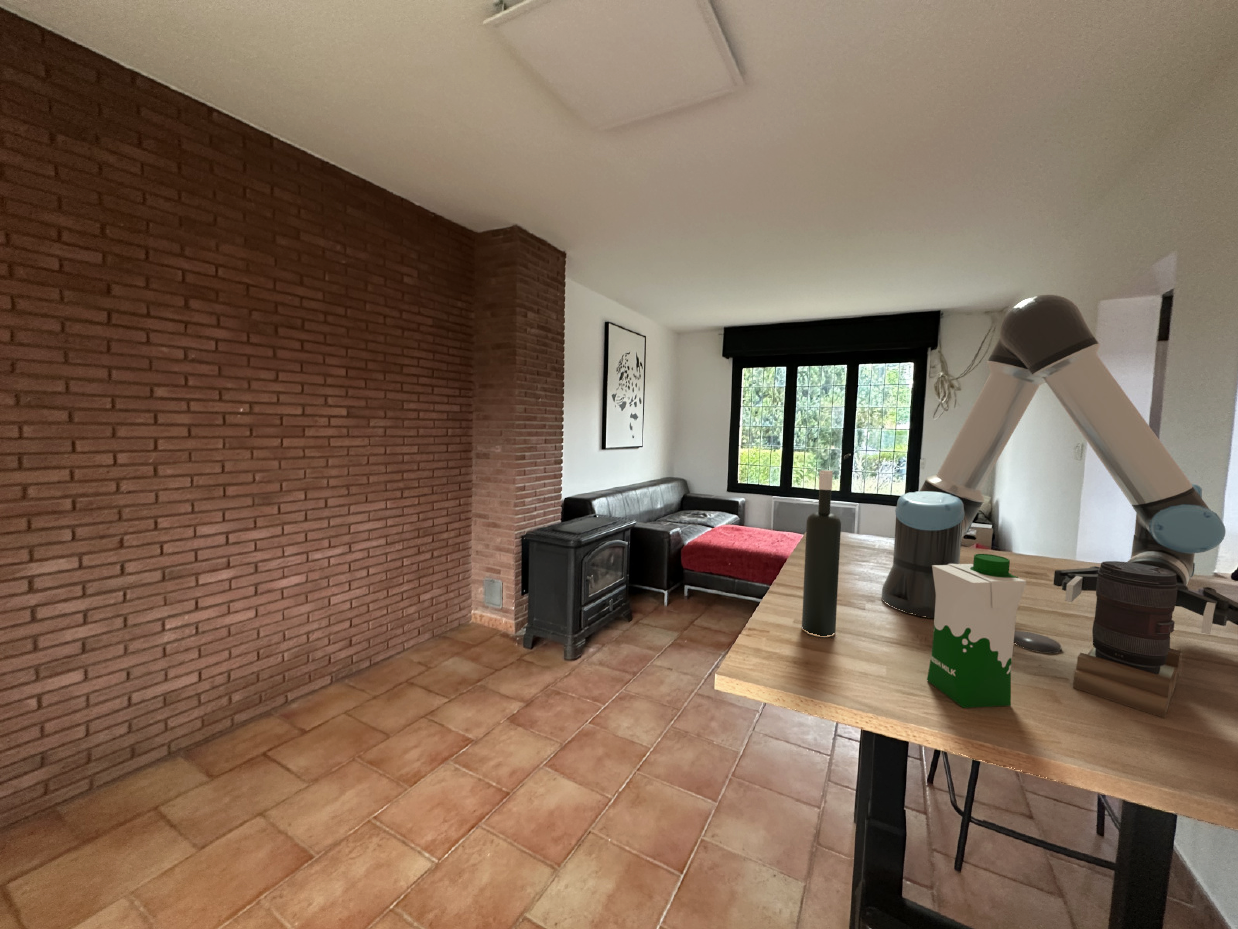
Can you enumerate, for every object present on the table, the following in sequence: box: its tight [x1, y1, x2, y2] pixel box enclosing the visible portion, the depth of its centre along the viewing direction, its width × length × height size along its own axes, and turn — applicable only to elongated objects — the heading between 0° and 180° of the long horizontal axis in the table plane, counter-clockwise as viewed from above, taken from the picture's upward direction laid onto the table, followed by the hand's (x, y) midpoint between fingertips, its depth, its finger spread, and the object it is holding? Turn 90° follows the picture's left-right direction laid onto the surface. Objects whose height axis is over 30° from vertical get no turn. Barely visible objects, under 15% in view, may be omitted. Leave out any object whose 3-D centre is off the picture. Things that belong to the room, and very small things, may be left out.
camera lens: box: [1091, 560, 1178, 675], centre depth 72 cm, size 8×8×15 cm
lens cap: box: [1013, 630, 1062, 654], centre depth 85 cm, size 7×7×1 cm
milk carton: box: [926, 553, 1027, 709], centre depth 69 cm, size 9×9×20 cm
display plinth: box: [1072, 645, 1182, 719], centre depth 72 cm, size 17×9×4 cm, turn 127°
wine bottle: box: [801, 469, 842, 636], centre depth 88 cm, size 6×6×30 cm
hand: (1132, 607), depth 69 cm, fingers open, 13 cm apart
